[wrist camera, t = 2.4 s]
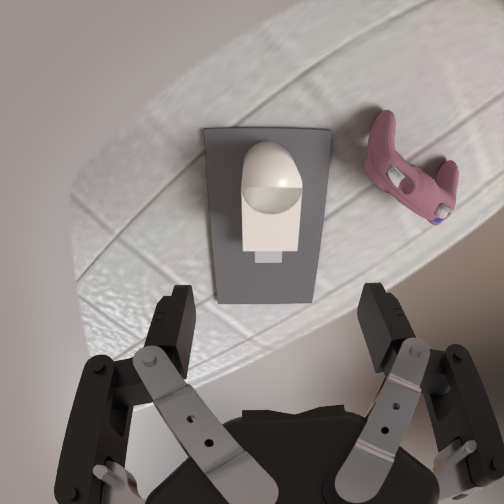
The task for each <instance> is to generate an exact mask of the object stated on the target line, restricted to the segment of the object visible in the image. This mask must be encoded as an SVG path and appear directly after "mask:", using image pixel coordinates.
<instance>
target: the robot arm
mask: <svg viewBox="0 0 504 504" xmlns="http://www.w3.org/2000/svg"><path fill="white" fill-rule="evenodd" d="M357 314H358V320H359V323H360V326H361V329H362V332H363V334H364V338H365V341H366V344H367V347H368V350H369V353H370V356H371V359H372V362H373V366H374V369H375V372H376V373H379V372H384V374H385V378H384V379H383V382H382V384H381V386H380V388H379V390H378V392H377V394H376V396H375V398H374V400H373V402H372V404H371V406H370V407H369V409H368V411H367V413H366V414H365V416H364V417H362V416H360V415H358V414H355V413H352V412H348V411H345V409H344V405H336V406H325V407H318V408H315V409H312V410H309V411H306V412H303V413H299V414H287V413H282V412H276V411H270V410H242V417H238V418H235V419H232V420H230V421H228V422H225V423H224V424H221V423H220V422H219V421H218V419H217V418H216V417H215V416H214V414H213V413H212V412H211V410H210V409H209V408H208V407H207V405H206V404H205V403H204V402H203V400H202V399H201V398H200V396H199V395H198V394H197V393H196V391H195V390H194V388H193V387H192V386H191V385H190V384H189V385H188V384H187V383H186V382H185V381H184V379H186V378H187V371H188V365H189V359H190V353H191V346H192V340H193V334H194V329H195V323H196V309H195V303H194V297H193V291H192V286H191V285H175V286H174V289H173V292H172V295H171V296H163V298H162V299H161V300H160V301H159V302H158V303H157V306H156V309H155V312H154V315H153V318H152V321H151V325H150V328H149V331H148V335H147V338H146V341H145V345H144V347H143V348H141V349H139V350H138V351H137V352H136V353H135V355H134V357H132V358H129V359H125V360H119V361H114V362H113V360H112V359H111V358H110V357H109V356H107V355H96V356H93V357H92V358H90V359H89V360H88V361H87V362H86V364H85V366H84V369H83V372H82V375H81V379H80V382H79V385H78V389H77V392H76V395H75V399H74V403H73V406H72V410H71V413H70V417H69V421H68V425H67V429H66V433H65V438H64V441H63V446H62V450H61V455H60V460H59V465H58V470H57V475H56V481H55V486H54V495H55V498H56V500H57V502H58V503H59V504H438V502H441V501H444V500H447V499H450V498H452V499H454V500H458V499H462V498H464V497H466V496H468V495H470V494H472V493H474V492H476V491H478V490H480V489H482V488H483V487H486V486H487V485H489V484H491V483H493V482H494V481H496V480H498V479H500V478H501V477H503V476H504V443H503V440H502V437H501V433H500V430H499V427H498V424H497V421H496V418H495V415H494V413H493V410H492V407H491V404H490V401H489V399H488V396H487V394H486V391H485V389H484V386H483V383H482V381H481V379H480V376H479V374H478V372H477V369H476V367H475V365H474V362H473V360H472V358H471V356H470V353H469V352H468V351H467V349H466V348H464V347H463V346H461V345H458V344H453V345H450V346H448V348H447V349H446V351H439V350H432V349H429V347H428V345H427V344H426V343H425V342H424V341H422V340H421V339H418V338H416V336H415V334H414V333H413V330H412V328H411V326H410V324H409V322H408V320H407V317H406V316H405V313H404V311H403V309H402V308H401V305H400V303H399V301H398V300H397V298H395V297H394V296H393V295H392V294H391V293H386V291H385V289H384V287H383V285H382V284H381V283H365V285H364V287H363V291H362V294H361V298H360V301H359V305H358V310H357ZM420 393H423V395H424V398H425V401H426V405H427V409H428V412H429V416H430V419H431V423H432V427H433V431H434V435H435V439H436V443H437V448H438V452H439V453H438V454H437V456H436V457H435V460H434V467H433V472H432V471H431V470H429V469H428V468H427V467H426V466H424V465H423V464H422V463H420V462H419V461H418V460H417V459H415V458H414V457H413V456H412V455H410V454H409V453H408V452H407V451H405V450H404V449H403V448H402V447H400V446H399V445H400V443H401V441H402V439H403V436H404V434H405V432H406V430H407V427H408V425H409V422H410V420H411V417H412V415H413V412H414V410H415V407H416V404H417V402H418V399H419V396H420ZM151 402H153V403H154V405H155V407H156V408H157V410H158V411H159V413H160V415H161V416H162V418H163V419H164V421H165V423H166V424H167V426H168V427H169V429H170V430H171V432H172V433H173V435H174V437H175V438H176V440H177V441H178V443H179V444H180V446H181V447H182V448H183V450H184V451H185V453H186V454H187V456H188V458H187V459H186V460H185V461H184V462H183V463H182V464H181V465H180V466H179V467H178V468H177V469H176V470H175V471H174V472H173V473H171V474H170V475H169V476H168V477H167V478H166V479H165V480H164V481H163V482H162V483H161V484H160V485H159V486H158V487H156V488H155V489H154V490H153V491H152V492H151V493H150V495H149V496H148V498H147V499H146V500H144V499H142V498H141V496H140V495H139V493H138V490H137V483H136V480H135V478H134V476H133V475H132V474H131V473H129V472H128V471H126V470H125V460H126V453H127V452H126V451H127V445H128V438H129V431H130V424H131V418H132V412H133V406H135V405H141V404H146V403H151Z"/></svg>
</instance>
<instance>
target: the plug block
mask: <svg viewBox="0 0 504 504" xmlns="http://www.w3.org/2000/svg"><path fill="white" fill-rule="evenodd" d="M241 195H242V237H243V251H255V263H282V251H297V250H298V238H299V226H300V213H301V200H302V179H301V176H300V174H299V172H298V169H297V167H296V165H295V162H294V160H293V158H292V156H291V153H290V152H289V150H288V149H287V148H286V147H285V146H284V145H282V144H280V143H278V142H275V141H262V142H259V143H257V144H255V145H253V146H252V147H251V148H250V149H249V150H248V151H247V153H246V155H245V157H244V161H243V172H242V184H241Z"/></svg>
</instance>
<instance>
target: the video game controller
mask: <svg viewBox="0 0 504 504" xmlns="http://www.w3.org/2000/svg"><path fill="white" fill-rule="evenodd" d="M395 125H396V122H395V117H394V114H393V112H391V111H390V110H384V111H383V112H381V113H379V115H378V116H377V118H376V119H375V121H374V123H373V126H372V128H371V131H370V135H369V139H368V148H367V157H366V159H365V160H364V162H363V166H364V170H365V172H366V174H367V176H368V177H369V178H370V180H371V182H372V183H373V184H375V185H376V186H377V187H378V188H379V189H381V190H382V191H384V192H387V193H390V194H392V195H393V196H394V197H395V198H396V199H397V200H398V201H400V202H401V203H402V204H403V205H405V206H406V207H407V208H409V209H410V210H412V211H413V212H415V213H416V214H418V215H420V216H421V217H423V218H425V219H427V220H428V221H429V222H430V223H431V224H433V225H439V224H440V223H441V222H442V221H444V220H445V219H447V218H448V217H449V216H450V214H451V213H452V211H453V209H454V208H455V204H456V192H457V185H458V177H459V171H458V167H457V165H456V163H455V162H454V161H451V160H450V161H446V162H445V163H444V164H443V165H442V166H441V167H440V169H439V171H438V173H437V176H436V178H435V181H434V180H433V179H432V178H431V177H430V176H429V175H427V174H425V173H424V171H423V170H422V169H420V168H419V167H416V166H414V167H412V166H411V165H410V164H409V163H408V162H406V161H405V160H404V159H403V157H402V156H401V155H400V154H399V153H398V152H397V151H396V150H395V146H394V136H395Z"/></svg>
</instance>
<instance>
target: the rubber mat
mask: <svg viewBox="0 0 504 504" xmlns="http://www.w3.org/2000/svg"><path fill="white" fill-rule="evenodd" d="M331 138H332V131H331V130H326V129H309V128H281V127H234V128H206V129H204V139H205V156H206V172H207V186H208V200H209V213H210V225H211V237H212V249H213V260H214V270H215V280H216V290H217V300H218V304H293V303H312V299H313V292H314V286H315V279H316V273H317V266H318V259H319V252H320V244H321V237H322V229H323V220H324V212H325V203H326V194H327V184H328V174H329V163H330V151H331ZM262 141H275V142H278V143H280V144H282V145H284V146H285V147H286V148H287V149H288V150H289V152H290V153H291V156H292V158H293V160H294V162H295V165H296V167H297V169H298V172H299V174H300V176H301V179H302V200H301V213H300V226H299V238H298V250H297V251H282V263H255V251H243V237H242V195H241V184H242V172H243V161H244V157H245V155H246V153H247V151H248V150H249V149H250V148H251V147H252V146H253V145H255V144H257V143H259V142H262Z"/></svg>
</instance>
